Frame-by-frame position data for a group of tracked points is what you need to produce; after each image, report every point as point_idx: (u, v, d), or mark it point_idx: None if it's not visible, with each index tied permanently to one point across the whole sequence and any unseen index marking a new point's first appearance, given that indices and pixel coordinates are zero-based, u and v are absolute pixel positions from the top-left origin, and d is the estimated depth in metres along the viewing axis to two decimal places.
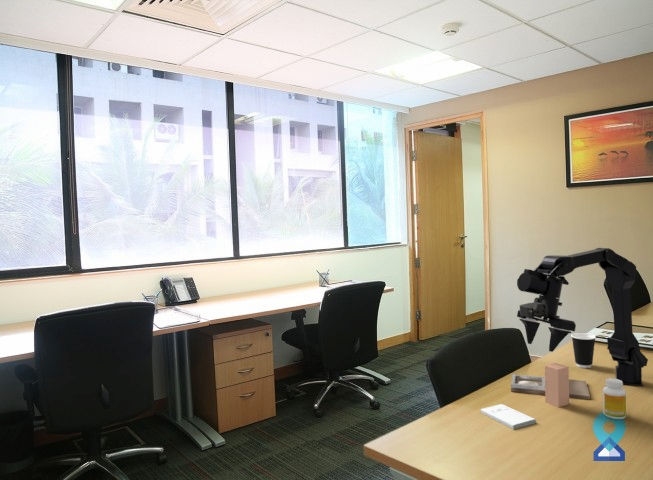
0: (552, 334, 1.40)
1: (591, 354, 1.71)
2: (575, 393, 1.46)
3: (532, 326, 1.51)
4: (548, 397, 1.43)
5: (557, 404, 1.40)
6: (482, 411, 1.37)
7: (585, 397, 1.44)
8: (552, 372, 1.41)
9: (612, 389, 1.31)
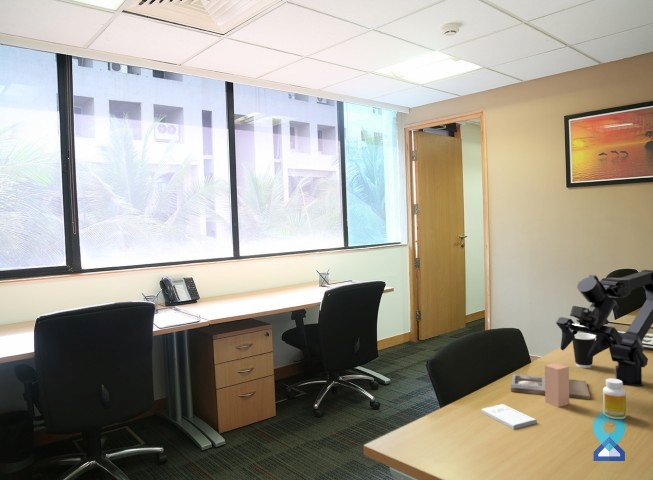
0: (597, 340, 1.41)
1: None
2: (575, 393, 1.46)
3: (569, 335, 1.51)
4: (548, 397, 1.43)
5: (557, 404, 1.40)
6: (483, 411, 1.37)
7: (585, 397, 1.44)
8: (552, 372, 1.41)
9: (612, 389, 1.31)
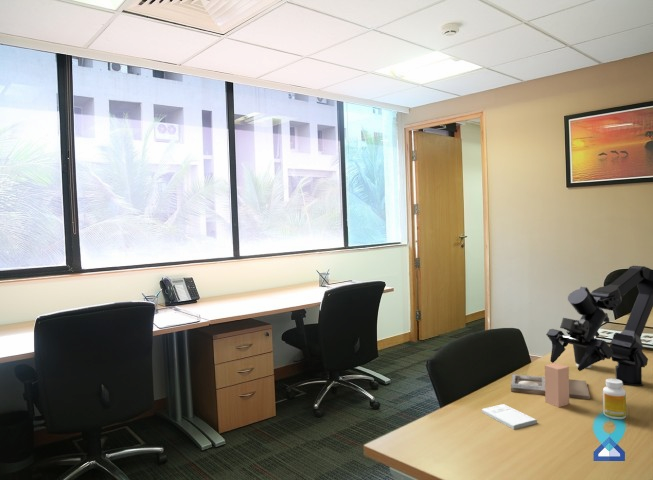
0: (587, 353, 1.39)
1: None
2: (575, 393, 1.46)
3: (559, 347, 1.50)
4: (548, 397, 1.43)
5: (557, 404, 1.40)
6: (483, 411, 1.37)
7: (585, 397, 1.44)
8: (552, 372, 1.41)
9: (612, 389, 1.31)
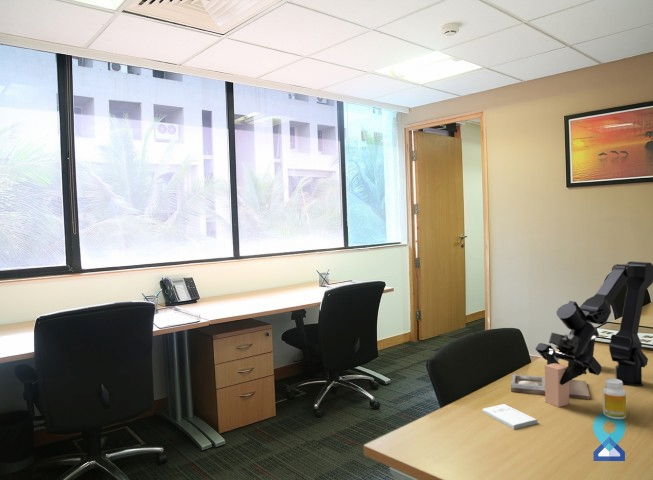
0: (569, 367, 1.39)
1: (591, 354, 1.71)
2: (575, 393, 1.46)
3: None
4: (548, 397, 1.42)
5: (557, 404, 1.40)
6: (484, 411, 1.37)
7: (585, 397, 1.44)
8: (552, 372, 1.41)
9: (612, 389, 1.31)
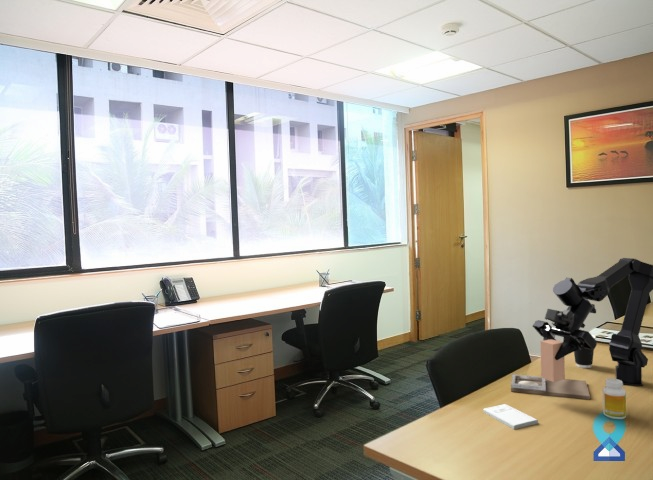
0: (564, 342, 1.40)
1: (591, 354, 1.71)
2: (575, 393, 1.46)
3: None
4: (544, 372, 1.44)
5: (552, 379, 1.41)
6: (484, 411, 1.38)
7: (585, 397, 1.44)
8: (547, 347, 1.42)
9: (612, 389, 1.31)
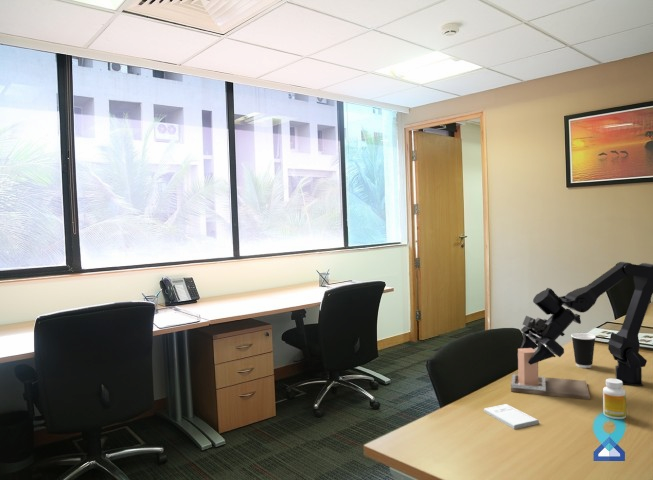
0: (538, 349, 1.50)
1: (591, 354, 1.71)
2: (575, 393, 1.46)
3: (529, 344, 1.60)
4: (519, 377, 1.57)
5: None
6: (485, 410, 1.38)
7: (585, 397, 1.44)
8: (521, 355, 1.55)
9: (612, 389, 1.31)
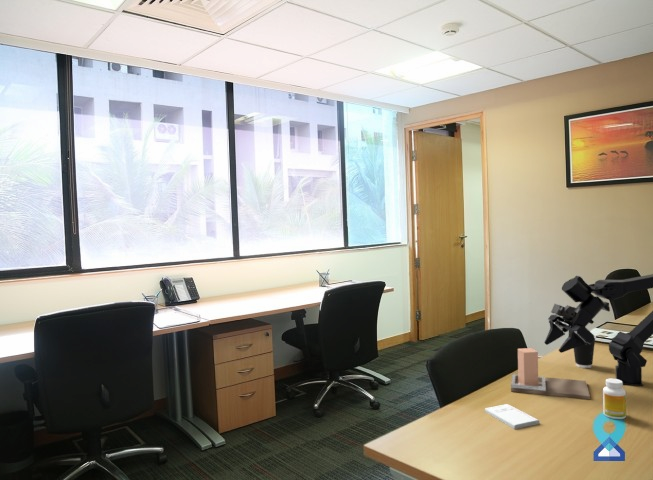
0: (569, 337, 1.50)
1: (591, 354, 1.71)
2: (575, 393, 1.46)
3: (556, 331, 1.60)
4: (519, 377, 1.57)
5: None
6: (486, 410, 1.38)
7: (585, 397, 1.44)
8: (521, 355, 1.55)
9: (612, 389, 1.31)
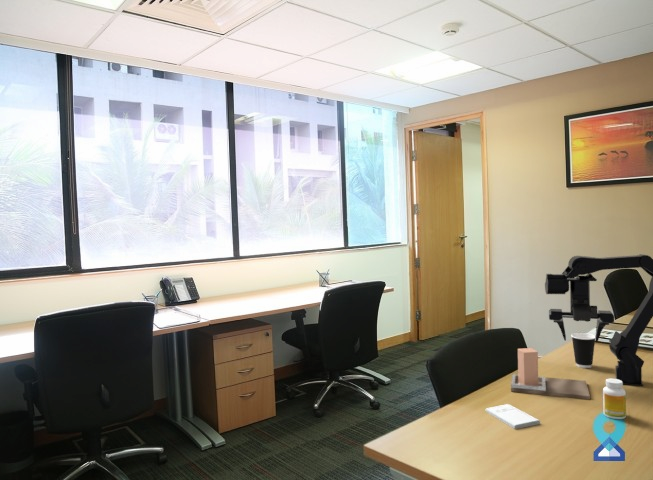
0: (600, 328, 1.56)
1: (591, 354, 1.71)
2: (575, 393, 1.46)
3: None
4: (519, 377, 1.57)
5: None
6: (487, 410, 1.38)
7: (585, 397, 1.44)
8: (521, 355, 1.55)
9: (612, 389, 1.31)
